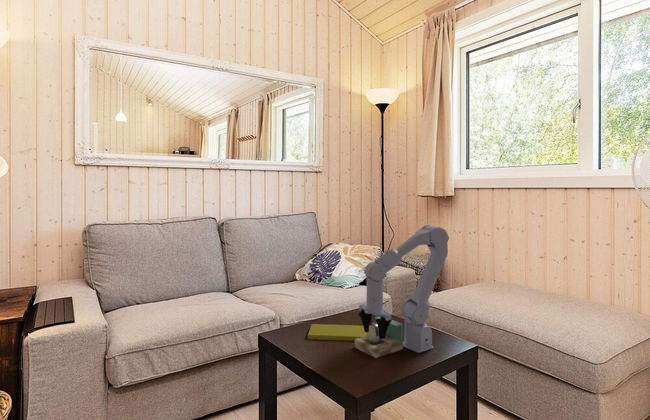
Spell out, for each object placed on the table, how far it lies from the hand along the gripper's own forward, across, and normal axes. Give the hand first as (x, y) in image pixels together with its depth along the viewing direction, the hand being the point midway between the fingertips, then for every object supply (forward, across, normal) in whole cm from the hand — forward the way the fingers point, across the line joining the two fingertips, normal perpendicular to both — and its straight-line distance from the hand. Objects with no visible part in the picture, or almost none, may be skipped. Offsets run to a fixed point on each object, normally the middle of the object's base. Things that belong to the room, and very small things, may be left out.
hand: (374, 335), depth 141 cm
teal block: (+2, 0, +7) cm, 7 cm away
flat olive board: (+6, -19, -1) cm, 20 cm away
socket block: (+5, 0, +2) cm, 6 cm away
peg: (+5, 0, 0) cm, 5 cm away
